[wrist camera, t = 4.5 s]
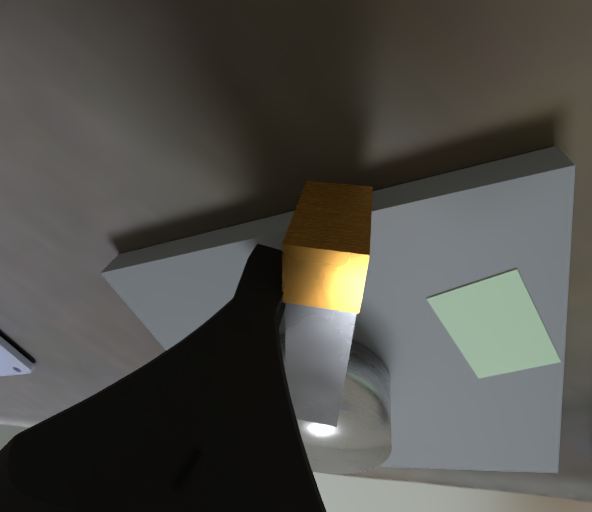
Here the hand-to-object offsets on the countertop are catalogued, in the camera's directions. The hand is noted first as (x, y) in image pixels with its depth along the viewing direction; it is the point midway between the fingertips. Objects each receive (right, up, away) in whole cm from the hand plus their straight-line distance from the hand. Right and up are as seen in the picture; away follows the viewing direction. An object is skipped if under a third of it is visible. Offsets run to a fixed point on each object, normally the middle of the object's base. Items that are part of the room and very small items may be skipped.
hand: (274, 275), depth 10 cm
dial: (+2, -2, +3) cm, 4 cm away
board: (+3, -4, +5) cm, 7 cm away
